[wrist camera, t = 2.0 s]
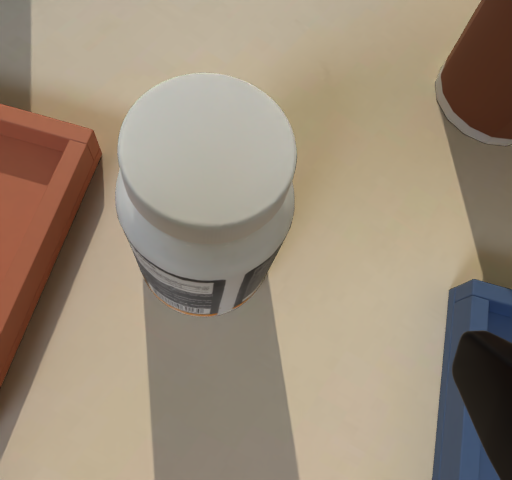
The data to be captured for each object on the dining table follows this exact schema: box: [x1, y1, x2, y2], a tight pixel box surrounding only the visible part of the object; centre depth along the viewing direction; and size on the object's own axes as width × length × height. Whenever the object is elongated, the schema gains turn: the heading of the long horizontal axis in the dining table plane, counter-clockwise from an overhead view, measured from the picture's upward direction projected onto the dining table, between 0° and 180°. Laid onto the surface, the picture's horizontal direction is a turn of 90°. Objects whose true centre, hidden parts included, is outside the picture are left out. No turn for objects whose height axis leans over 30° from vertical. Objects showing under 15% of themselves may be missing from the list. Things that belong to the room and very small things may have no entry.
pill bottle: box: [115, 73, 297, 317], centre depth 16 cm, size 6×6×10 cm
